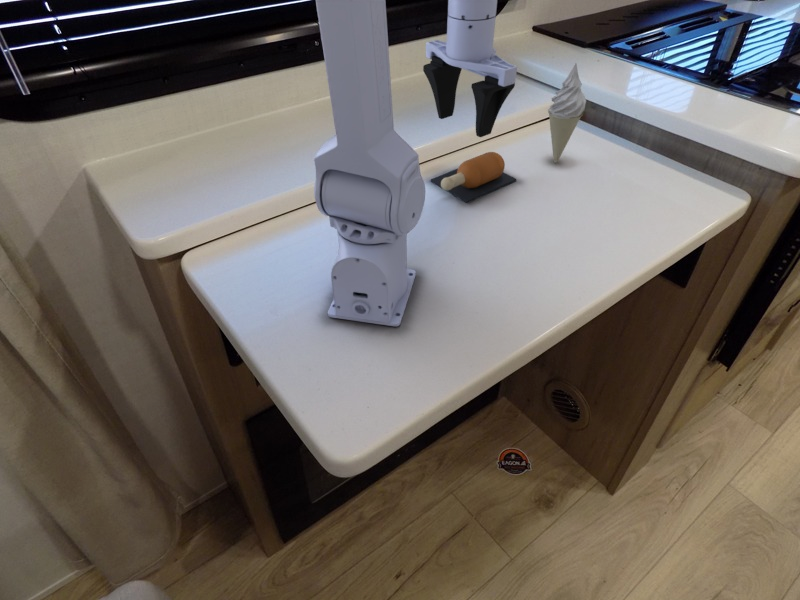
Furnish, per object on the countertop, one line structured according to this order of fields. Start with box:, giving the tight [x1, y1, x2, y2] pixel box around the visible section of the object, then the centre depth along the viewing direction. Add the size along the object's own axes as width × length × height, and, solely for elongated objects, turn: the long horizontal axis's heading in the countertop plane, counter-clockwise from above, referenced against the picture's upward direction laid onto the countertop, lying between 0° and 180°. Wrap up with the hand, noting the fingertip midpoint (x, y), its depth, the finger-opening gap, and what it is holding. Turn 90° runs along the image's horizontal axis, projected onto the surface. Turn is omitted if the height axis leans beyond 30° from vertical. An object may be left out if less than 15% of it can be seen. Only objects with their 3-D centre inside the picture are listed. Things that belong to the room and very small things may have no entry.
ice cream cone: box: [547, 63, 587, 164], centre depth 78 cm, size 5×5×15 cm
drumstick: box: [440, 151, 506, 191], centre depth 76 cm, size 11×4×4 cm, turn 127°
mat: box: [430, 168, 517, 204], centre depth 79 cm, size 10×8×1 cm
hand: (464, 125), depth 72 cm, fingers open, 7 cm apart
